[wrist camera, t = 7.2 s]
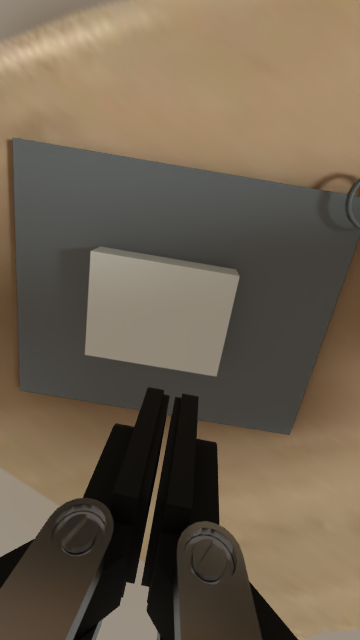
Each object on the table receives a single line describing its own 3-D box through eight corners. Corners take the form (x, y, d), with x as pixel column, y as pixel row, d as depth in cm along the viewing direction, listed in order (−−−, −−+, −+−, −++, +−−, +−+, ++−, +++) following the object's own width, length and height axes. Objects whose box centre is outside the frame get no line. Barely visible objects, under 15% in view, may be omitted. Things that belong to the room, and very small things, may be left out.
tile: (239, 276, 19) (90, 250, 19) (216, 376, 21) (84, 354, 21) (235, 268, 21) (101, 245, 21) (214, 360, 23) (95, 340, 23)
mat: (368, 198, 20) (372, 199, 19) (287, 430, 26) (289, 434, 25) (17, 139, 19) (12, 137, 19) (23, 386, 26) (19, 390, 25)
